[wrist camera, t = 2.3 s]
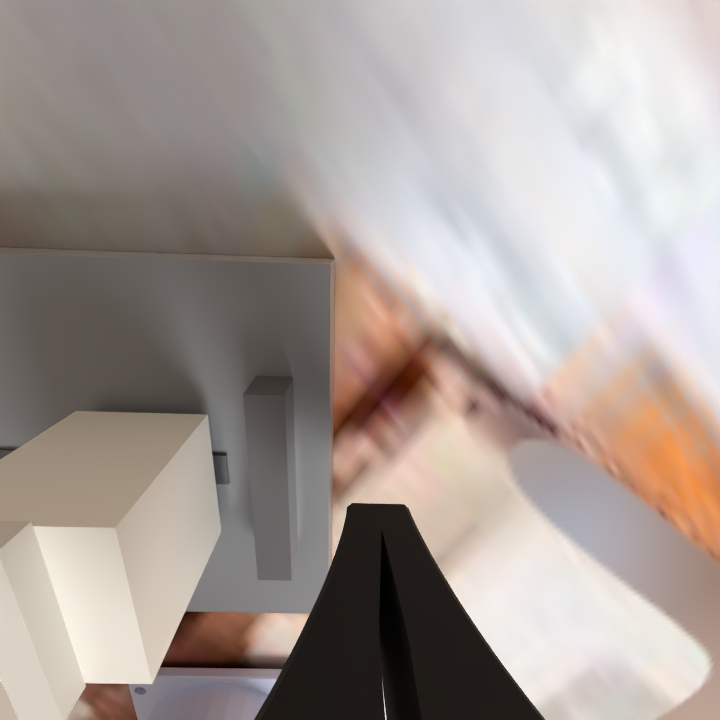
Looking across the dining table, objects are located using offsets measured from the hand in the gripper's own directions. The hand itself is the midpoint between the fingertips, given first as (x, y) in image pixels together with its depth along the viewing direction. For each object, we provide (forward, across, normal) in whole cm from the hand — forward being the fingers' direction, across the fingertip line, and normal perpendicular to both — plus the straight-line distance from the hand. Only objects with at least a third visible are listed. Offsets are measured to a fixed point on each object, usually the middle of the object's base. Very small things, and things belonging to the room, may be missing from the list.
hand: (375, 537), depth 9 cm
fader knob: (+2, +6, 0) cm, 7 cm away
